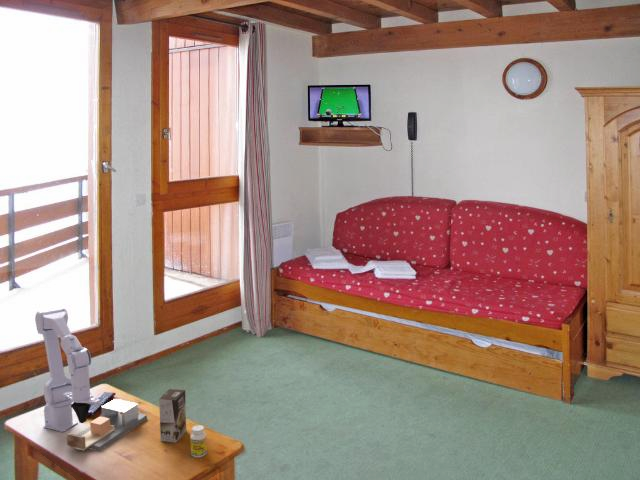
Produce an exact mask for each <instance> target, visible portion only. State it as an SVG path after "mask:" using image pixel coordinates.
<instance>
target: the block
mask: <svg viewBox="0 0 640 480" xmlns="http://www.w3.org/2000/svg"><path fill="white" fill-rule="evenodd" d="M89 425H90V426H89V427H91V433H94V434H98V435H102V434H104V433H105V432H107V431H108V430H110V429H111V428H110V419H109V418H105V417H102V415H101V416H99V417H96V418H95V419H93V420H91V421H90V422H89Z"/></svg>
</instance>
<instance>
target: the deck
mask: <svg viewBox="0 0 640 480" xmlns="http://www.w3.org/2000/svg"><path fill="white" fill-rule="evenodd" d="M147 419H148V415H147V414H143V413H141V412H140V413H139V412H138V419H136V420H135V421H133V422H132V423H130V424H129V425H127V426H126V427H123V426H122V413H119V412H118V414H117V415H115V416H114V417H112V418H111V419H110V425H113V426H114V431H113V432H111V433H110V434H108V435H106V436H105V437H103V438H102V439H100V440H99V441H97V442H96V443H94V444H93V445H91V446H90V447H88V448H87V449H90V450H95V451H98V452H101V451H102V450H103V449H105V448H106V447H108V446H109V445H111V444H112V443H114V442H115V441H117V440H118V439H119V438H121V437H122V436H124V435H126V434H127V433H128V432H130V431H132V430H133V429H134V428H136V427H138V426H139V425H140V424H142V423H144V422H145V421H146V420H147ZM90 430H91V427H90V426H88V427H87V428H86V429H84V430H82V431H81V432H78V433H76V435H80V436H82V435H84V434H86V433H87V432H89V431H90Z"/></svg>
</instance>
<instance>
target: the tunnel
mask: <svg viewBox="0 0 640 480" xmlns="http://www.w3.org/2000/svg"><path fill="white" fill-rule="evenodd" d="M138 408H139V407H138V403H136V402H130V401H127V400H122V399H118V398H113V400H111V401H109V402H107V403H105V404H104V405H101V417H105V418H109V419H111V418H112V417H114V416H115V415H117V414H118V412H119V413H122V426H123V427H126V426H127V425H129V424H130V423H132V422H133V421H135V420H136V419H138V413H139V409H138Z"/></svg>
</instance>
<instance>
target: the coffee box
mask: <svg viewBox="0 0 640 480" xmlns="http://www.w3.org/2000/svg"><path fill="white" fill-rule="evenodd" d="M158 404H159V428H160V429H159V431H160V433H159V435H160V437H159V438H160V442H167V443H178V441H180V439H181V438H182V437H183V436H184V435H185V434H186V432H187V408H186V404H187V403H186V390H185V389H174V388H172V389H171V388H169V389H167V391H165V393H164V394H162V395H161V397H160V398H159V403H158Z"/></svg>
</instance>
